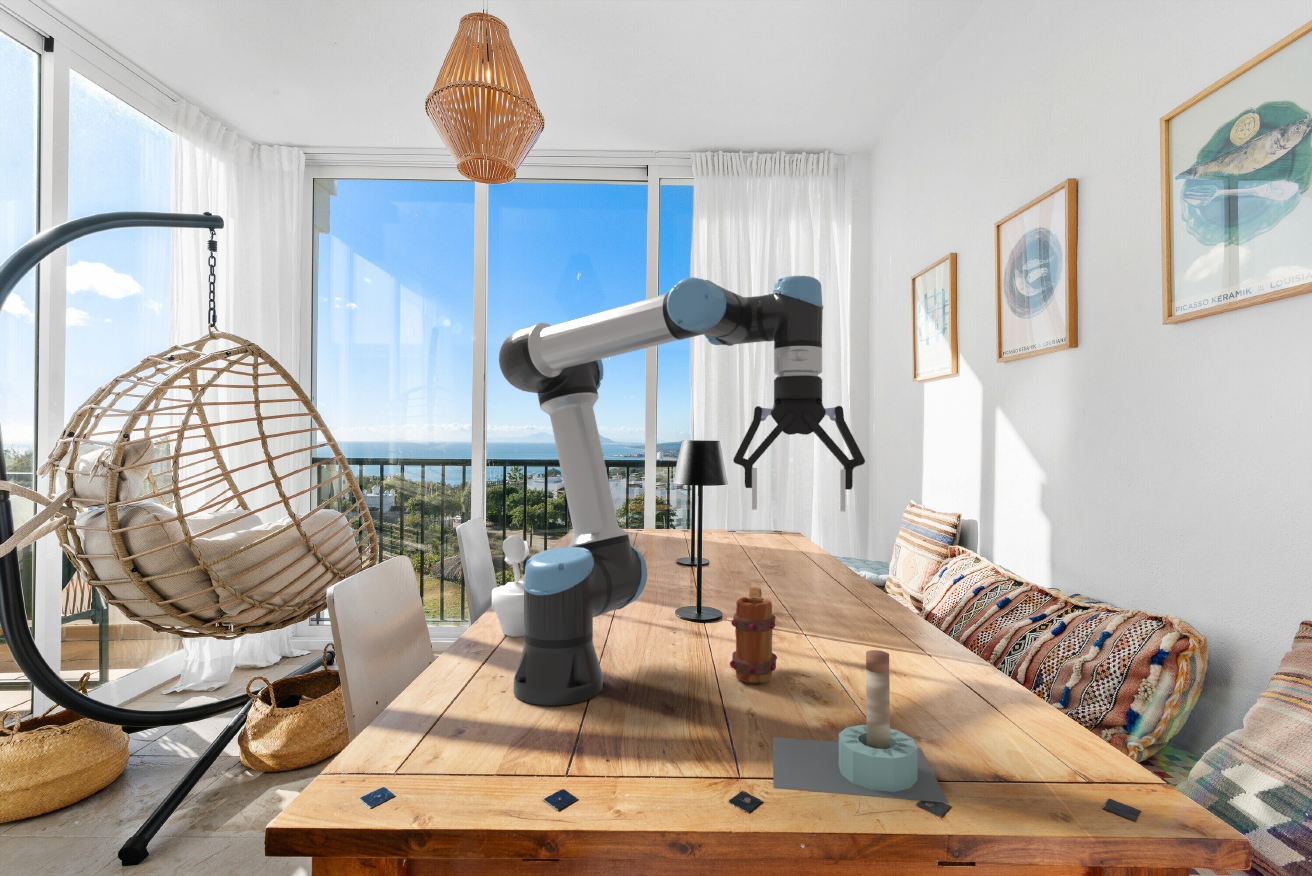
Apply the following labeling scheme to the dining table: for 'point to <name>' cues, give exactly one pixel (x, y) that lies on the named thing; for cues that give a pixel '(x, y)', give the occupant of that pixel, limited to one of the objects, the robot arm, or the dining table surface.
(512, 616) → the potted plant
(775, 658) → the wooden banded keg
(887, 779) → the bead
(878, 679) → the dowel
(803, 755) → the mat
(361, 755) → the dining table surface
